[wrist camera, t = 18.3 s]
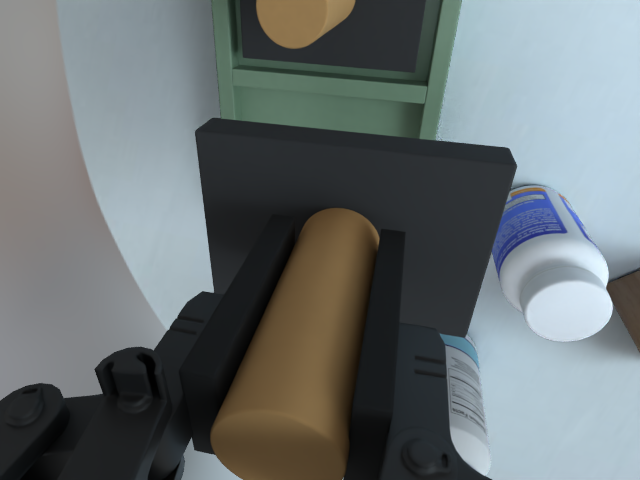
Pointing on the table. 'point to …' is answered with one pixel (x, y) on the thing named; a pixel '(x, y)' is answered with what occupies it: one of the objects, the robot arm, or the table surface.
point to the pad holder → (336, 82)
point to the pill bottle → (551, 266)
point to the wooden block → (627, 302)
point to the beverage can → (466, 403)
